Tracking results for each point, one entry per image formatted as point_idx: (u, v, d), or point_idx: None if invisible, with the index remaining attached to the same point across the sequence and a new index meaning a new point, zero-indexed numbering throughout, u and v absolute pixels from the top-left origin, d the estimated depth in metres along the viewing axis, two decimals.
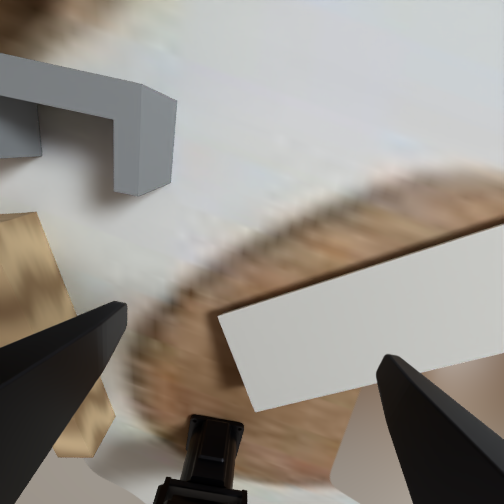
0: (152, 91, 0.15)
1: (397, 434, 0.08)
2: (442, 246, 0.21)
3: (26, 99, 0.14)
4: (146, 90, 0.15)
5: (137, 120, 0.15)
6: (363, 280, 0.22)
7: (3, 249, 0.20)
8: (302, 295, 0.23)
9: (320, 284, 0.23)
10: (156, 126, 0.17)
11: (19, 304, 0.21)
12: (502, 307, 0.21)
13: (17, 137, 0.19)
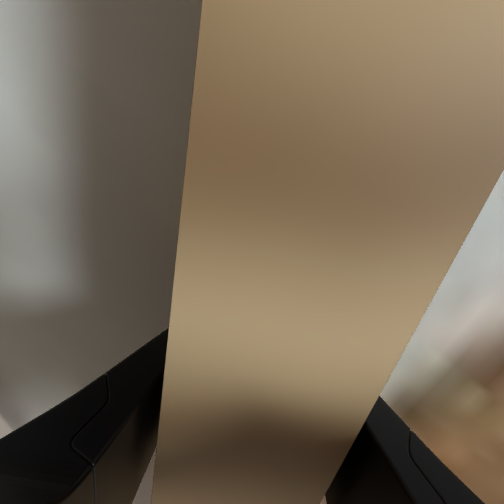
0: None
1: None
2: None
3: None
4: None
5: None
6: None
7: None
8: None
9: None
10: None
11: (500, 159, 0.03)
12: None
13: None
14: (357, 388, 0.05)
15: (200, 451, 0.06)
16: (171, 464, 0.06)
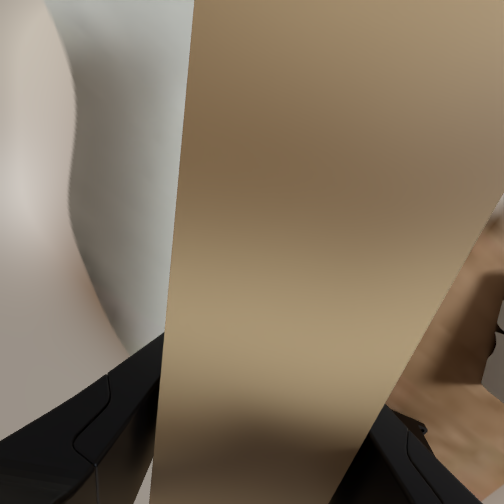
0: None
1: None
2: None
3: None
4: None
5: None
6: None
7: None
8: None
9: None
10: None
11: None
12: None
13: None
14: (361, 396, 0.05)
15: (198, 459, 0.06)
16: (168, 473, 0.06)
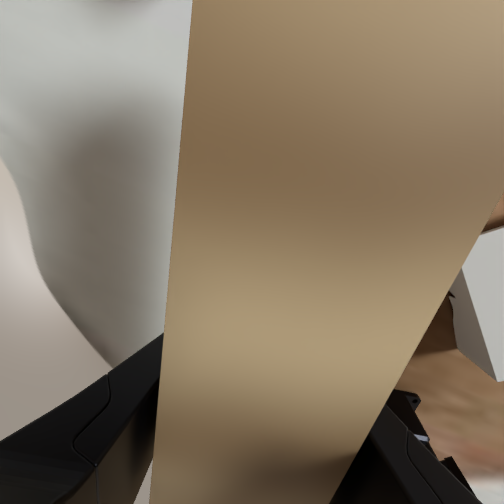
0: None
1: None
2: None
3: None
4: None
5: None
6: None
7: None
8: None
9: None
10: None
11: None
12: None
13: None
14: (361, 396, 0.05)
15: (198, 460, 0.06)
16: (168, 474, 0.06)
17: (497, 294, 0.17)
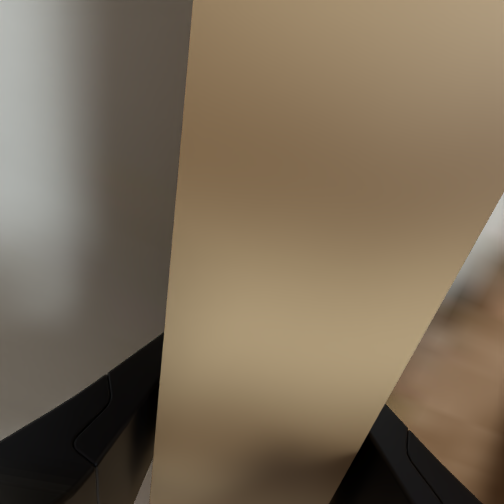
0: None
1: None
2: None
3: None
4: None
5: None
6: None
7: None
8: None
9: None
10: None
11: None
12: None
13: None
14: (361, 396, 0.05)
15: (198, 460, 0.06)
16: (168, 474, 0.06)
17: None
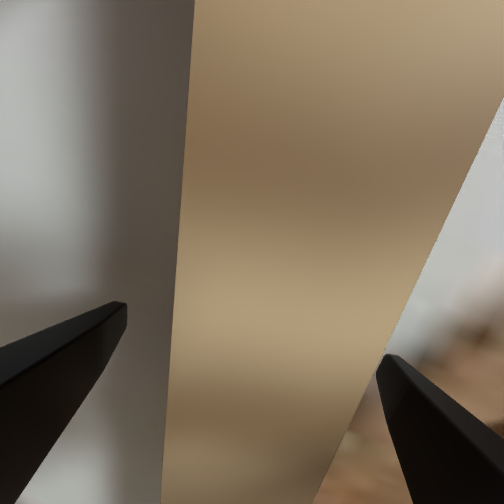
0: None
1: (397, 434, 0.08)
2: None
3: None
4: None
5: None
6: None
7: None
8: None
9: None
10: None
11: (471, 148, 0.04)
12: None
13: None
14: (351, 369, 0.05)
15: (206, 434, 0.06)
16: (179, 448, 0.06)
17: None
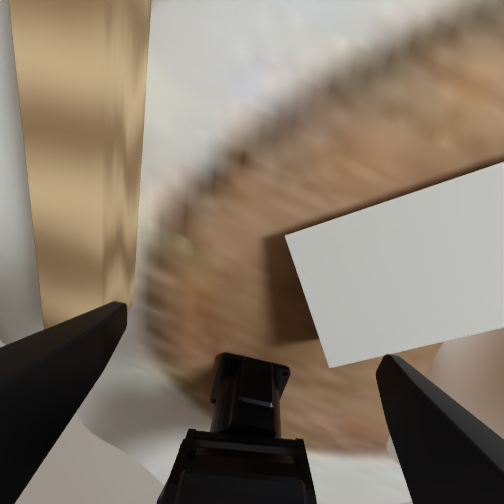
0: None
1: (397, 434, 0.08)
2: None
3: None
4: None
5: None
6: (503, 177, 0.16)
7: None
8: (410, 202, 0.17)
9: (438, 185, 0.16)
10: None
11: None
12: None
13: None
14: (93, 94, 0.12)
15: (42, 139, 0.13)
16: (31, 150, 0.14)
17: (325, 285, 0.18)
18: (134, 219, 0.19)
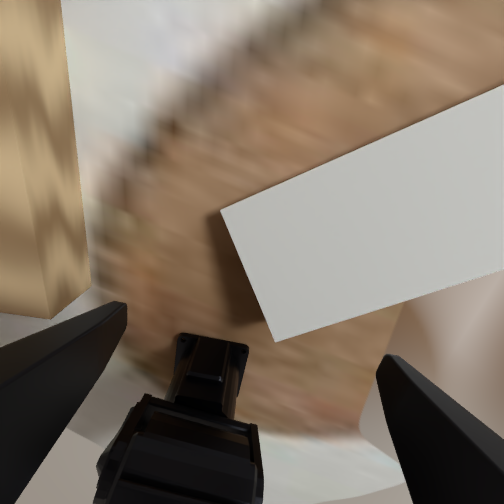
0: None
1: (397, 434, 0.08)
2: None
3: None
4: None
5: None
6: (426, 135, 0.16)
7: None
8: (338, 167, 0.17)
9: (363, 148, 0.16)
10: None
11: None
12: None
13: None
14: None
15: None
16: None
17: (263, 257, 0.18)
18: (76, 195, 0.19)
